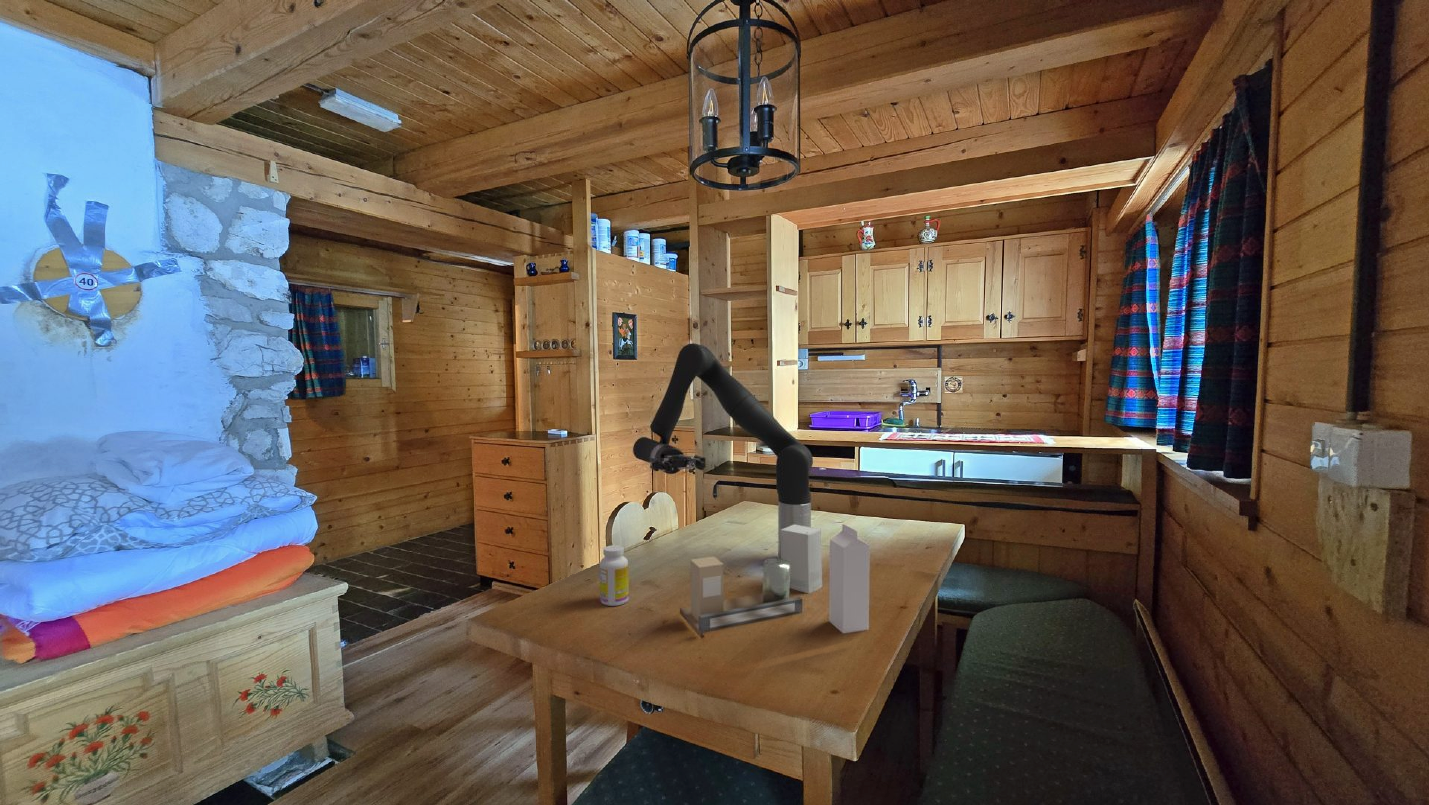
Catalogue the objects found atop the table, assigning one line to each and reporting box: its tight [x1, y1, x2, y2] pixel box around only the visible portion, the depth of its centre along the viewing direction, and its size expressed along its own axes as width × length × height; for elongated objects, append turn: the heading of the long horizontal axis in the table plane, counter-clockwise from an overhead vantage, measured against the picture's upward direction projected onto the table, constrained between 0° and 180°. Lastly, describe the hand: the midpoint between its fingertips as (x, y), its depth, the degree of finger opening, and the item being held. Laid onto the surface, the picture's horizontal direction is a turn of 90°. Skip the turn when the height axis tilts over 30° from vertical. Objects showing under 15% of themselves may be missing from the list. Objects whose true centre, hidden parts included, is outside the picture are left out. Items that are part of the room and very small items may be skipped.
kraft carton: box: [689, 556, 725, 622], centre depth 124 cm, size 6×6×12 cm
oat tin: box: [761, 557, 791, 604], centre depth 128 cm, size 6×6×10 cm
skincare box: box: [780, 524, 823, 594], centre depth 141 cm, size 8×7×16 cm
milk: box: [828, 523, 871, 634], centre depth 119 cm, size 6×6×22 cm
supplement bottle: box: [599, 544, 630, 607], centre depth 135 cm, size 7×7×13 cm
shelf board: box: [679, 593, 803, 639], centre depth 127 cm, size 24×13×4 cm, turn 113°
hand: (686, 467), depth 145 cm, fingers open, 8 cm apart
